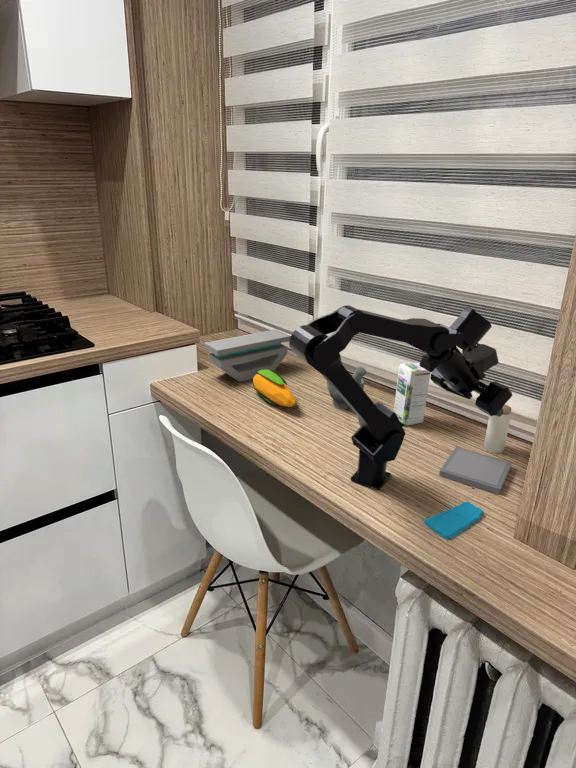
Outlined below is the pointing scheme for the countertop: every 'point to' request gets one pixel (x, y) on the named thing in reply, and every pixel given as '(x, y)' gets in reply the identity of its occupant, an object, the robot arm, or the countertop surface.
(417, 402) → the syrup box
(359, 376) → the mortar and pestle
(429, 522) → the sponge
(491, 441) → the spice jar
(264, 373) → the corn
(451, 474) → the slate trivet
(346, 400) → the robot arm
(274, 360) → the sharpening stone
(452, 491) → the countertop surface
